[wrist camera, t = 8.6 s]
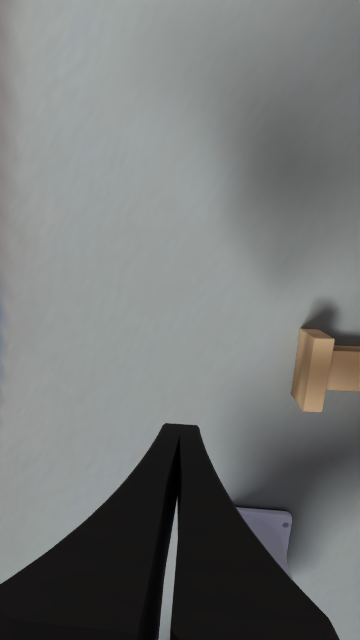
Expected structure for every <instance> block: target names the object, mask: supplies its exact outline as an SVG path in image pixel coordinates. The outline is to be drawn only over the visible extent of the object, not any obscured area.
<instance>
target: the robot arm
mask: <svg viewBox="0 0 360 640" xmlns="http://www.w3.org/2000/svg"><path fill="white" fill-rule="evenodd" d="M176 502H177V504H178V544H177V557H176V569H175V581H174V593H173V605H172V617H171V629H170V640H339V638H338V635H337V633H336V631H335V629H334V627H333V625H332V623H331V622H330V620H329V618H328V617H327V616H326V615H325V614H324V613H323V612H322V611H321V610H320V609H319V608H318V607H317V606H316V605H315V604H314V603H313V602H312V601H311V599H310V598H309V597H308V596H307V595H306V594H305V593H304V592H303V591H302V590H301V589H300V588H299V587H298V586H297V585H296V584H295V582H294V581H293V580H292V577H291V573H290V570H289V566H288V563H287V560H286V555H287V549H288V543H289V537H290V531H291V525H292V516H291V514H290V513H289V512H286V511H276V510H263V509H251V508H239V507H235V505H234V503H233V502H232V500H231V499H230V497H229V495H228V494H227V492H226V490H225V488H224V487H223V485H222V483H221V481H220V479H219V477H218V475H217V473H216V471H215V469H214V467H213V465H212V463H211V461H210V459H209V456H208V454H207V452H206V449H205V446H204V444H203V441H202V438H201V434H200V429H199V427H198V426H197V425H184V424H169V423H165V424H164V425H163V426H162V428H161V430H160V432H159V434H158V436H157V437H156V439H155V441H154V442H153V444H152V445H151V447H150V448H149V450H148V451H147V453H146V454H145V456H144V457H143V458H142V460H141V461H140V463H139V464H138V465H137V466H136V468H135V469H134V470H133V471H132V473H131V474H130V475H129V476H128V478H127V479H126V480H125V481H124V482H123V483H122V485H121V486H120V487H119V488H118V489H117V490H116V491H115V492H114V493H113V494H112V495H111V496H110V497H109V499H108V500H107V501H106V502H105V503H103V504H102V505H101V506H100V507H99V508H98V509H97V510H96V511H95V512H94V513H93V514H92V515H91V516H90V517H89V518H88V519H87V520H85V521H84V522H83V523H82V524H81V525H80V526H79V527H77V528H76V529H75V530H74V531H72V532H71V533H70V534H69V535H67V536H66V537H65V538H64V539H63V540H61V541H60V542H59V543H58V544H56V545H55V546H54V547H53V548H51V549H50V550H49V551H48V552H46V553H45V554H44V555H42V556H41V557H39V558H38V559H36V560H35V561H34V562H32V563H31V564H29V565H28V566H26V567H25V568H24V569H22V570H21V571H19V572H18V573H16V574H15V575H14V576H12V577H11V578H9V579H8V580H6V581H5V582H3V583H2V584H0V640H158V638H159V627H160V616H161V605H162V594H163V584H164V576H165V568H166V562H167V556H168V550H169V544H170V538H171V532H172V526H173V520H174V514H175V508H176Z"/></svg>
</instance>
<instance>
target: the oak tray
mask: <svg viewBox="0 0 360 640" xmlns="http://www.w3.org/2000/svg"><path fill="white" fill-rule="evenodd" d="M334 341H335V339H334V338H332V337H330V336H329V335H327V334H325V333H324V332H322V331H320V330H319V329H300V336H299V343H298V350H297V357H296V364H295V371H294V378H293V385H292V392H291V395H292V396H293V398H294V399H295V400H296V402H297V403H298V405H299V406H300V407H301V409H302V410H303V411H307V412H322V409H323V403H324V397H325V392H326V390H341V391H360V346H340V345H334Z"/></svg>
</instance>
